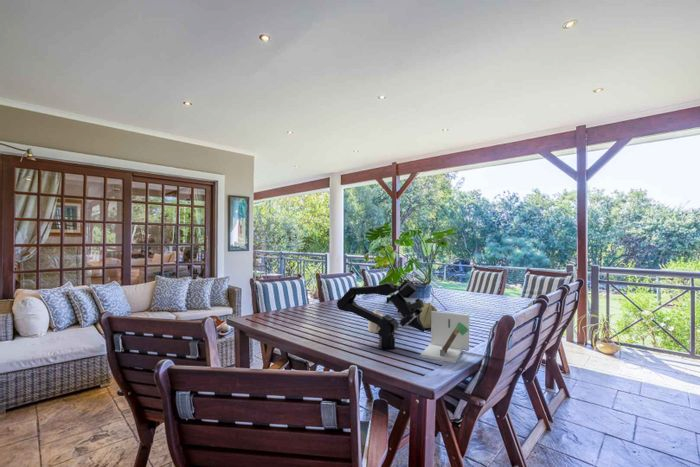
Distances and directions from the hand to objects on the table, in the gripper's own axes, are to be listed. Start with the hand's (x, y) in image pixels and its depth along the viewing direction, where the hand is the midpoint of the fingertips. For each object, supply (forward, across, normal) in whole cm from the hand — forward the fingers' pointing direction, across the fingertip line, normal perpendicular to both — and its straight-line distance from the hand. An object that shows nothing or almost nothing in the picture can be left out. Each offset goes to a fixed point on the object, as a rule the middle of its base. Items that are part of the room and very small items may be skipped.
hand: (424, 331), depth 158 cm
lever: (+12, 0, -1) cm, 12 cm away
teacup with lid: (-16, +26, +31) cm, 44 cm away
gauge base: (+13, +5, +1) cm, 14 cm away
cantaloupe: (-1, +46, +16) cm, 49 cm away
